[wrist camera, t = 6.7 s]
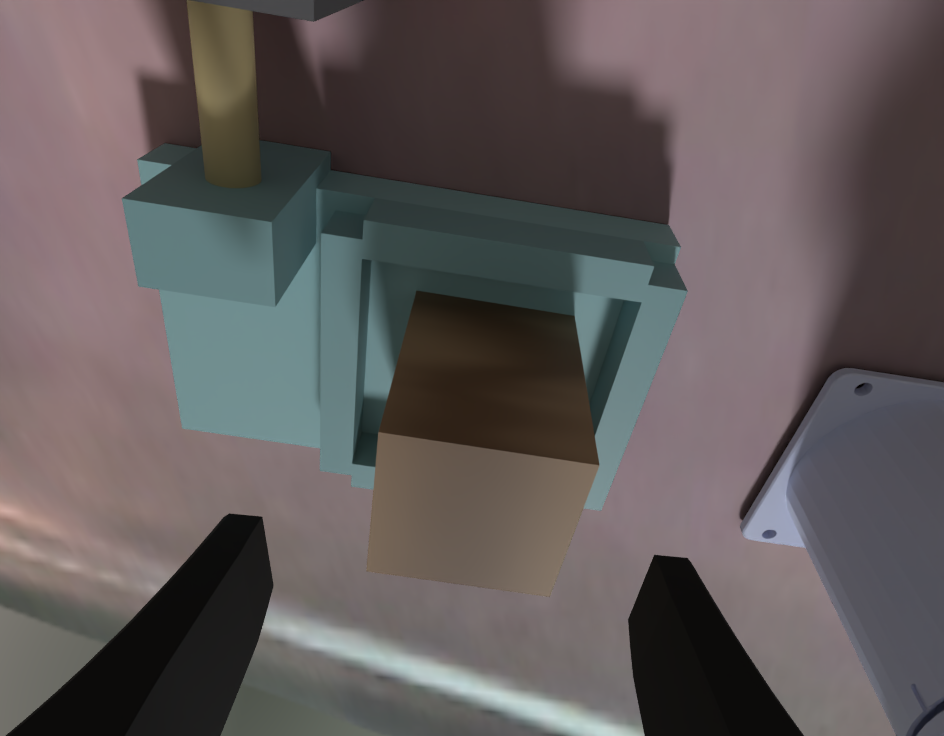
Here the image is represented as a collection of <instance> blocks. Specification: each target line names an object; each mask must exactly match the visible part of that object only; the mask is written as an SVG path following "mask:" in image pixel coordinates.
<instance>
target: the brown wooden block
mask: <svg viewBox="0 0 944 736" xmlns="http://www.w3.org/2000/svg"><path fill="white" fill-rule="evenodd" d="M599 466H600V465H599V459H598V453H597V447H596V441H595V435H594V429H593V423H592V417H591V411H590V405H589V399H588V393H587V387H586V381H585V375H584V369H583V363H582V357H581V351H580V345H579V339H578V333H577V327H576V321H575V316H572V315H566V314H560V313H554V312H547V311H541V310H535V309H529V308H523V307H516V306H510V305H504V304H498V303H492V302H485V301H479V300H473V299H467V298H461V297H454V296H448V295H442V294H436V293H430V292H423V291H417V290H416V294H415V298H414V301H413V305H412V309H411V313H410V316H409V320H408V324H407V328H406V331H405V335H404V339H403V342H402V346H401V350H400V354H399V357H398V361H397V365H396V368H395V372H394V376H393V380H392V383H391V387H390V391H389V395H388V398H387V402H386V406H385V409H384V413H383V417H382V421H381V424H380V428H379V432H378V442H377V454H376V466H375V477H374V489H373V500H372V512H371V524H370V535H369V547H368V558H367V570H366V571H368V572H375V573H382V574H389V575H396V576H403V577H410V578H418V579H425V580H432V581H439V582H446V583H453V584H460V585H468V586H475V587H482V588H489V589H496V590H503V591H510V592H518V593H525V594H532V595H539V596H546V597H550V595H551V592H552V590H553V587H554V584H555V582H556V579H557V576H558V574H559V571H560V569H561V566H562V563H563V561H564V558H565V555H566V553H567V550H568V547H569V545H570V542H571V540H572V537H573V534H574V532H575V529H576V526H577V524H578V521H579V518H580V516H581V513H582V511H583V508H584V505H585V503H586V500H587V497H588V495H589V492H590V490H591V487H592V484H593V482H594V479H595V476H596V474H597V471H598V468H599Z"/></svg>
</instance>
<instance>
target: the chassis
mask: <svg viewBox="0 0 944 736" xmlns="http://www.w3.org/2000/svg"><path fill="white" fill-rule="evenodd" d="M186 1H187V10H188V20H189V29H190V39H191V48H192V58H193V67H194V77H195V86H196V95H197V105H198V114H199V124H200V133H201V143H202V145H201V146H199V147H198V148H191V147H185V146H179V145H173V144H167V143H164V144H163V145H161V146H159V147H158V148H156V149H154V150H153V151H151V152H149V153H148V154H146V155H144V156H143V157H141V158H139V159H137V161H138V167H139V173H140V179H141V186H140V187H138V188H137V189H135V190H134V191H132V192H131V193H129V194H128V195H126V196H125V197H123V198H122V202H123V207H124V212H125V218H126V223H127V228H128V234H129V239H130V244H131V250H132V255H133V260H134V265H135V271H136V276H137V281H138V286H139V287H146V288H152V289H159V292H160V298H161V304H162V310H163V316H164V322H165V328H166V334H167V340H168V346H169V352H170V358H171V364H172V370H173V376H174V382H175V388H176V394H177V400H178V406H179V412H180V418H181V423H182V428H183V429H190V430H197V431H204V432H211V433H218V434H225V435H232V436H239V437H246V438H253V439H260V440H266V441H273V442H280V443H287V444H294V445H301V446H308V447H315V448H320V471H325V472H332V473H339V474H346V475H352V480H351V486H352V487H359V488H366V489H374V477H375V466H376V454H377V442H378V432H379V428H380V424H381V421H382V417H383V413H384V409H385V406H386V402H387V398H388V395H389V391H390V387H391V383H392V380H393V376H394V372H395V368H396V365H397V361H398V357H399V354H400V350H401V346H402V342H403V339H404V335H405V331H406V328H407V324H408V320H409V316H410V313H411V309H412V305H413V301H414V298H415V294H416V290H417V291H423V292H430V293H436V294H442V295H448V296H454V297H461V298H467V299H473V300H479V301H485V302H492V303H498V304H504V305H510V306H516V307H523V308H529V309H535V310H541V311H547V312H554V313H560V314H566V315H572V316H575V321H576V327H577V333H578V339H579V345H580V351H581V357H582V363H583V369H584V375H585V381H586V387H587V393H588V399H589V405H590V411H591V417H592V423H593V429H594V435H595V441H596V447H597V453H598V459H599V465H600V466H599V468H598V471H597V474H596V476H595V479H594V482H593V484H592V487H591V490H590V492H589V495H588V497H587V500H586V503H585V505H584V508H585V509H592V510H599V511H601V510H602V507H603V504H604V502H605V499H606V497H607V494H608V492H609V489H610V487H611V484H612V482H613V479H614V477H615V474H616V472H617V469H618V466H619V464H620V461H621V459H622V456H623V454H624V451H625V449H626V446H627V444H628V441H629V439H630V436H631V434H632V431H633V429H634V426H635V423H636V421H637V418H638V416H639V413H640V411H641V408H642V406H643V403H644V401H645V398H646V396H647V393H648V391H649V388H650V386H651V383H652V380H653V378H654V375H655V373H656V370H657V368H658V365H659V363H660V360H661V358H662V355H663V353H664V350H665V348H666V345H667V343H668V340H669V337H670V335H671V332H672V330H673V327H674V325H675V322H676V320H677V317H678V315H679V312H680V310H681V307H682V305H683V302H684V299H685V297H686V294H687V292H688V291H687V289H686V287H685V285H684V283H683V281H682V279H681V277H680V274H679V272H678V270H677V268H676V266H675V262H676V259H677V256H678V254H679V251H680V248H681V246H680V245H679V243H678V241H677V239H676V237H675V235H674V234H673V232H672V230H671V228H670V226H669V225H666V224H659V223H653V222H647V221H641V220H635V219H629V218H622V217H616V216H610V215H604V214H598V213H592V212H585V211H579V210H573V209H567V208H561V207H555V206H549V205H542V204H536V203H530V202H524V201H518V200H512V199H505V198H499V197H493V196H487V195H481V194H475V193H468V192H462V191H456V190H450V189H444V188H438V187H432V186H425V185H419V184H413V183H407V182H401V181H395V180H388V179H382V178H376V177H370V176H364V175H358V174H352V173H345V172H339V171H333V170H331V152H330V151H323V150H317V149H311V148H305V147H299V146H293V145H287V144H281V143H275V142H268V141H262V140H259V124H258V104H257V85H256V66H255V47H254V28H253V11H249V10H243V9H237V8H232V7H226V6H220V5H214V4H208V3H203V2H197V1H191V0H186Z"/></svg>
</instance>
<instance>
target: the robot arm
mask: <svg viewBox="0 0 944 736" xmlns="http://www.w3.org/2000/svg"><path fill="white" fill-rule="evenodd" d="M862 383H865V384H864V385H863V386H862V387H860V388H856V387H857V386H858V385H860V384H862ZM855 388H856V389H855ZM740 528H741V531H742V534H743V536H744V537H745V538H746V539H749V540H754V541H762V542H769V543H776V544H783V545H790V546H797V547H804V548H806V549H807V552H808V554H809V556H810V558H811V560H812V562H813V564H814V566H815V568H816V570H817V572H818V574H819V576H820V579H821V581H822V583H823V585H824V587H825V589H826V591H827V593H828V595H829V597H830V599H831V601H832V603H833V605H834V608H835V610H836V612H837V614H838V616H839V618H840V620H841V622H842V624H843V626H844V628H845V630H846V632H847V635H848V637H849V639H850V641H851V643H852V645H853V647H854V649H855V651H856V653H857V655H858V657H859V659H860V662H861V664H862V666H863V668H864V670H865V672H866V674H867V676H868V678H869V680H870V682H871V684H872V686H873V689H874V691H875V693H876V695H877V697H878V699H879V701H880V703H881V705H882V707H883V709H884V711H885V713H886V715H887V718H888V720H889V722H890V724H891V726H892V728H893V730H894V732H895V734H896V736H944V382H938V381H932V380H925V379H919V378H913V377H906V376H900V375H893V374H887V373H880V372H874V371H867V370H861V369H854V368H843V369H840V370H837V371H836V372H834V373H832V374H831V376H830V377H829V378H828V379H827V381H826V383H825V384H824V386H823V388H822V389H821V391H820V393H819V394H818V396H817V398H816V399H815V401H814V403H813V404H812V406H811V408H810V409H809V411H808V413H807V414H806V416H805V418H804V419H803V421H802V423H801V424H800V426H799V428H798V429H797V431H796V433H795V434H794V436H793V438H792V439H791V441H790V443H789V444H788V446H787V448H786V449H785V451H784V453H783V454H782V456H781V458H780V459H779V461H778V463H777V464H776V466H775V468H774V469H773V471H772V473H771V474H770V476H769V478H768V479H767V481H766V483H765V484H764V486H763V488H762V489H761V491H760V493H759V494H758V496H757V498H756V499H755V501H754V503H753V504H752V506H751V508H750V509H749V511H748V513H747V514H746V516H745V518H744V519H743V521H742V523H741V525H740ZM272 589H273V579H272V573H271V567H270V561H269V555H268V549H267V543H266V537H265V531H264V525H263V519H262V517H259V516H249V515H238V514H228V515H226V516H225V517H224V518H223V519H222V520H221V521H220V522H219V523H218V525H217V526H216V527H215V528H214V529H213V531H212V532H211V533H210V534H209V535H208V536H207V538H206V539H205V540H204V541H203V542H202V543H201V545H200V546H199V547H198V548H197V549H196V550H195V551H194V553H193V554H192V555H191V556H190V557H189V558H188V559H187V561H186V562H185V563H184V564H183V565H182V566H181V567H180V568H179V569H178V571H177V572H176V573H175V574H174V575H173V576H172V577H171V578H170V579H169V581H168V582H167V583H166V584H165V585H164V586H163V587H162V588H161V589H160V590H159V591H158V592H157V593H156V594H155V595H154V597H153V598H152V599H151V600H150V601H149V602H148V603H147V604H146V605H145V606H144V607H143V608H142V609H141V610H140V611H139V612H138V613H137V615H136V616H135V617H134V618H133V619H132V620H131V621H130V622H129V623H128V624H127V625H126V626H125V627H124V628H123V629H122V630H121V631H120V632H119V633H118V634H117V635H116V636H115V637H114V638H113V639H112V640H111V641H110V642H109V643H107V644H106V645H105V647H104V648H103V649H102V650H100V651H99V652H98V653H97V654H96V655H95V656H94V657H93V658H92V659H91V660H90V661H89V662H88V663H87V664H86V665H85V666H84V667H83V668H82V669H81V670H80V671H79V672H78V673H77V674H75V675H74V676H73V677H72V678H71V679H70V680H69V681H68V682H67V683H66V684H64V685H63V686H62V687H61V688H60V689H59V690H58V691H57V692H56V693H55V694H53V695H52V696H51V697H50V698H49V699H48V700H47V701H46V702H44V703H43V704H42V705H41V706H40V707H39V708H37V709H36V710H35V711H34V712H33V713H32V714H31V715H29V716H28V717H27V718H26V719H25V720H24V721H23V722H22V723H20V724H19V725H18V726H17V727H15V728H14V729H13V730H12V731H11V732H10V733H8V734H7V735H6V736H220V735H221V732H222V730H223V728H224V725H225V723H226V720H227V718H228V715H229V712H230V710H231V708H232V705H233V703H234V700H235V698H236V695H237V693H238V691H239V688H240V686H241V683H242V680H243V678H244V675H245V673H246V670H247V668H248V665H249V663H250V660H251V658H252V655H253V653H254V650H255V648H256V645H257V642H258V639H259V636H260V632H261V629H262V626H263V622H264V619H265V615H266V611H267V608H268V604H269V600H270V597H271V593H272ZM628 623H629V636H630V649H631V659H632V669H633V678H634V683H635V689H636V694H637V699H638V704H639V709H640V714H641V719H642V724H643V729H644V734H645V736H804V735H803V734H802V732H801V731H800V730H799V728H798V727H797V726H796V724H795V723H794V721H793V720H792V719H791V717H790V716H789V715H788V713H787V712H786V710H785V709H784V708H783V706H782V705H781V703H780V702H779V700H778V699H777V698H776V696H775V695H774V693H773V692H772V690H771V689H770V687H769V686H768V684H767V683H766V681H765V680H764V678H763V677H762V675H761V674H760V672H759V671H758V669H757V668H756V666H755V665H754V663H753V662H752V660H751V659H750V657H749V656H748V654H747V653H746V651H745V650H744V648H743V647H742V645H741V644H740V642H739V641H738V639H737V637H736V636H735V634H734V633H733V631H732V629H731V628H730V626H729V625H728V623H727V621H726V620H725V618H724V617H723V615H722V613H721V612H720V610H719V608H718V607H717V605H716V603H715V602H714V600H713V599H712V597H711V595H710V594H709V592H708V590H707V589H706V587H705V585H704V583H703V582H702V580H701V578H700V577H699V575H698V573H697V572H696V570H695V568H694V567H693V565H692V563H691V562H690V561H689V560H688V558H681V557H670V556H660V555H654V557H653V559H652V562H651V564H650V567H649V569H648V572H647V574H646V577H645V579H644V582H643V584H642V587H641V589H640V592H639V594H638V597H637V599H636V602H635V604H634V607H633V609H632V611H631V614H630V616H629V619H628Z"/></svg>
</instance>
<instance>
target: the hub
mask: <svg viewBox="0 0 944 736" xmlns="http://www.w3.org/2000/svg"><path fill="white" fill-rule="evenodd" d="M191 1H197V2H203V3H208V4H214V5H220V6H226V7H232V8H237V9H243V10H249V11H255V12H261V13H266V14H272V15H278V16H284V17H290V18H296V19H301V20H307V21H313V22H314V21H317V20H319V19H321V18H324V17H326V16H328V15H331V14H333V13H335V12H338V11H340V10H342V9H345V8H347V7H349V6H352V5H354V4H356V3H359V2H361V1H363V0H191Z"/></svg>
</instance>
